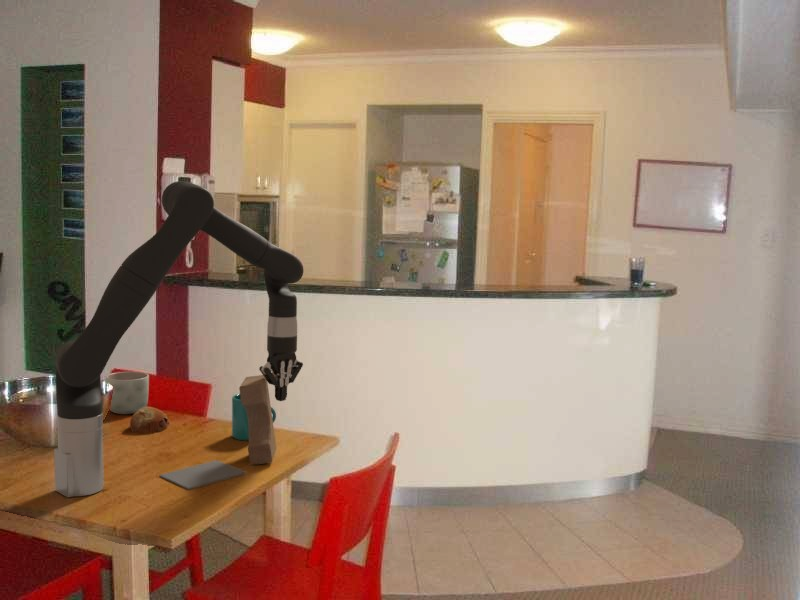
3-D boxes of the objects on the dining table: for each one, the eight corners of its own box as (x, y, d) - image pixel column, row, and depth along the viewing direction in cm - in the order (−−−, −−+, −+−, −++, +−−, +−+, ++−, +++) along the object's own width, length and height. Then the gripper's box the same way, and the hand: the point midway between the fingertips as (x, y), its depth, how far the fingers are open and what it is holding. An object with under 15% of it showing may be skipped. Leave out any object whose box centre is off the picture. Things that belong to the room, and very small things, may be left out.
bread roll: (141, 435, 233) (129, 411, 231) (174, 420, 233) (162, 396, 232) (134, 446, 223) (120, 420, 222) (168, 430, 223) (155, 405, 222)
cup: (274, 441, 219) (275, 401, 218) (229, 441, 218) (229, 400, 217) (277, 432, 228) (277, 393, 227) (234, 431, 227) (234, 392, 226)
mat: (188, 489, 181) (188, 488, 181) (159, 476, 189) (159, 474, 189) (246, 473, 193) (246, 471, 193) (216, 461, 201) (216, 460, 201)
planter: (156, 407, 250) (156, 373, 248) (136, 418, 237) (135, 381, 236) (119, 404, 252) (119, 370, 250) (97, 414, 240) (97, 378, 238)
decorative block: (272, 463, 199) (261, 384, 196) (249, 465, 199) (237, 386, 196) (277, 449, 210) (267, 374, 207) (255, 451, 210) (245, 376, 207)
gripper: (271, 338, 197) (269, 407, 199) (311, 333, 207) (310, 399, 209) (252, 333, 202) (251, 401, 204) (292, 329, 212) (291, 393, 214)
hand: (280, 400), depth 207 cm, fingers closed
